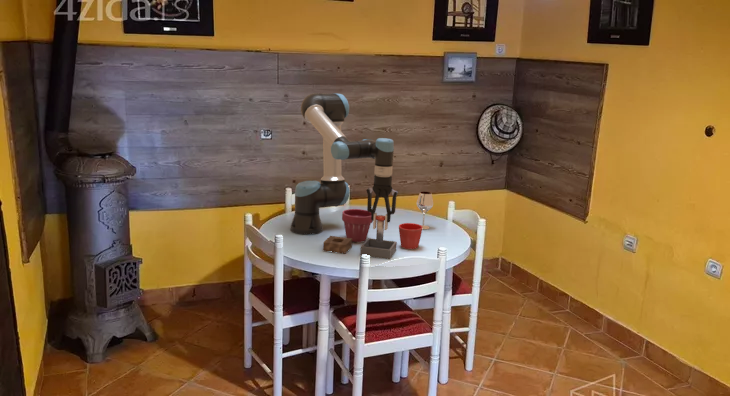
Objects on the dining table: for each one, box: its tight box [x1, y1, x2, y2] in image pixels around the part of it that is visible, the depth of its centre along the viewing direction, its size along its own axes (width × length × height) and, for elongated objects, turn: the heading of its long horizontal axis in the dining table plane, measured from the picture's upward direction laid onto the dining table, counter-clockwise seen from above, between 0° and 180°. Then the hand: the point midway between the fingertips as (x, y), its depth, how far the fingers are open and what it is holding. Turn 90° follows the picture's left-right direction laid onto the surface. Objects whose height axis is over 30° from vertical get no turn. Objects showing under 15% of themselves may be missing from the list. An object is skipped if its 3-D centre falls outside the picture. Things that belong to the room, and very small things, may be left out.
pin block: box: [322, 235, 353, 255], centre depth 266 cm, size 10×10×4 cm
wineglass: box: [416, 191, 434, 230], centre depth 304 cm, size 8×8×18 cm
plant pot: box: [341, 208, 373, 243], centre depth 280 cm, size 14×14×13 cm
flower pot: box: [398, 222, 423, 250], centre depth 274 cm, size 11×11×10 cm
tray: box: [359, 237, 398, 260], centre depth 264 cm, size 13×13×4 cm
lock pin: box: [375, 214, 385, 242], centre depth 261 cm, size 4×4×11 cm
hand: (380, 228), depth 261 cm, fingers closed on lock pin, 4 cm apart
